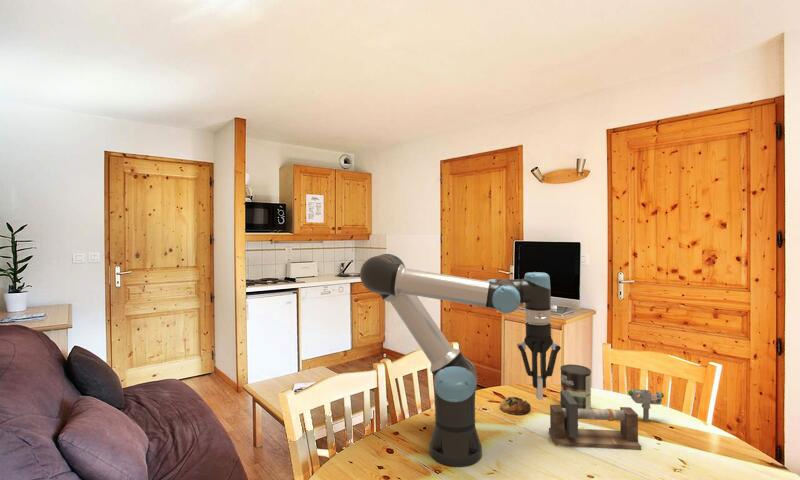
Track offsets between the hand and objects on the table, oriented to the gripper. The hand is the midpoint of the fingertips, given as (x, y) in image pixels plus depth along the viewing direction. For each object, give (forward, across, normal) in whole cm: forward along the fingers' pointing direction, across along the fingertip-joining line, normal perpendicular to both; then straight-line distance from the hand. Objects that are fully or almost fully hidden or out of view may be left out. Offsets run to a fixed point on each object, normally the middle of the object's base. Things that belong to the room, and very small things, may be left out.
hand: (539, 397), depth 128 cm
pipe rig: (+13, +16, 0) cm, 20 cm away
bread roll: (+13, -4, +21) cm, 25 cm away
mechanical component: (+13, +38, +15) cm, 43 cm away
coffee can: (+13, +18, +24) cm, 32 cm away
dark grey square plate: (+10, +9, 0) cm, 13 cm away
